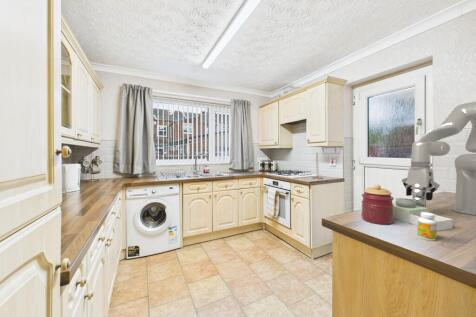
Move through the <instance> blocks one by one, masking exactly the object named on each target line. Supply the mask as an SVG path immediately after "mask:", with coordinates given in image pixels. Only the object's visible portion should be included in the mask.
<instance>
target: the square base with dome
mask: <svg viewBox="0 0 476 317" xmlns="http://www.w3.org/2000/svg"><path fill="white" fill-rule="evenodd" d="M392 204H393V205H394V206H393V219H396V220H398V221H400V222H401V221H402V222H404V223H407V224H412V225H414V226H417V227H418V219H419V218H421V212H427V213H429V209H428V207H427V208H424V207H420V206H416V201H415V200H412V198H406V197H405V198H403V197H398V198H395V202H392ZM434 215H435V218H434V220H435V221H436V222H437V228H436V232H437V231H443V230H449V229H450V230H451V229H453V224H454V222H453V221H454V219H452V218H448V217H445V216H442V215H437V214H434Z"/></svg>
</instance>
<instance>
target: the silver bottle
mask: <svg viewBox="0 0 476 317" xmlns="http://www.w3.org/2000/svg"><path fill="white" fill-rule="evenodd" d="M411 188H412V195H411V196H412V198H411V200H415V201H416V206H420V207H424V208H428V207H427V200H426V192H428V191H427V190H426V189H425V188H422V187H420V186H419V185H418V184H413V185H412V186H411Z"/></svg>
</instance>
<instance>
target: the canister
mask: <svg viewBox="0 0 476 317" xmlns="http://www.w3.org/2000/svg"><path fill="white" fill-rule="evenodd" d="M363 192H364V193H362V194H361V197H362V201H361V213H360V216H361V218H362V220H363V221H366V222H368V223H371V224H375V225H376V224H377V225H387V226H388V225H391V224H393V221H394V218H393V206H394V205H393V204H392V203H393V200H394V197H393V196H392V194H393V192H391V191H389V190H388V189H386V188H382V187H381V185H380V184H375V185H374V187H367V188H366V189H364V190H363Z"/></svg>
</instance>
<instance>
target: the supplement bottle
mask: <svg viewBox="0 0 476 317" xmlns="http://www.w3.org/2000/svg"><path fill="white" fill-rule="evenodd" d="M435 215H436V214H434V213H432V212H428V213H427V212H421V218H419V219H418V226H417V237H418V238H419V239H422V240H425V241H430V242H432V241H433V242H434V241H436V239H437V231H436V228H437V222H436V221H435V220H434V218H435Z"/></svg>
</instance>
